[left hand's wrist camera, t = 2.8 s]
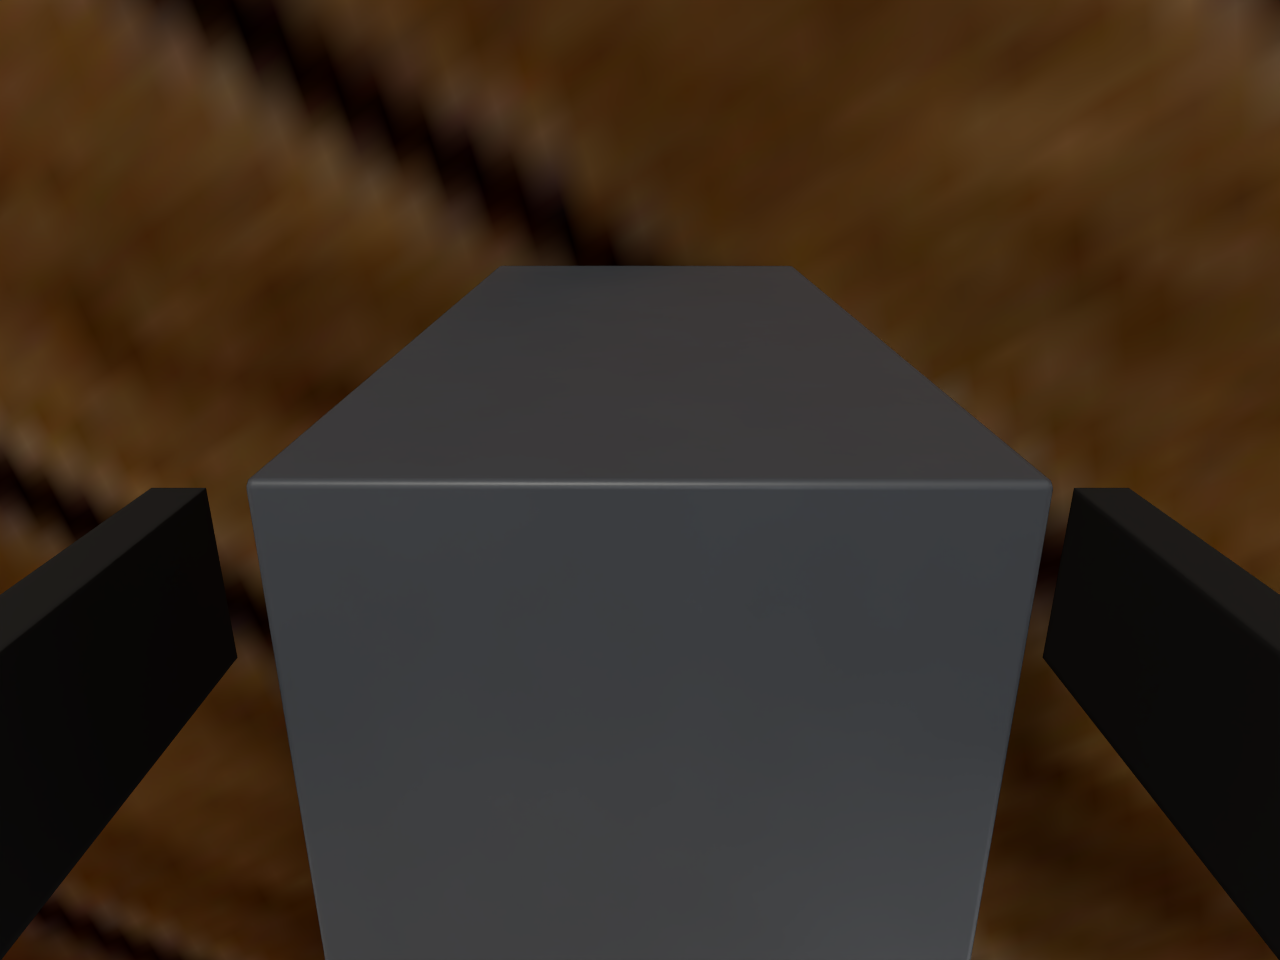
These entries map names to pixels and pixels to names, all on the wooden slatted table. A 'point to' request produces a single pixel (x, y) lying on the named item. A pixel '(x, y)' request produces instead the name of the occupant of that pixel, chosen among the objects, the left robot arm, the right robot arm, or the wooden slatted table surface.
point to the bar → (648, 630)
